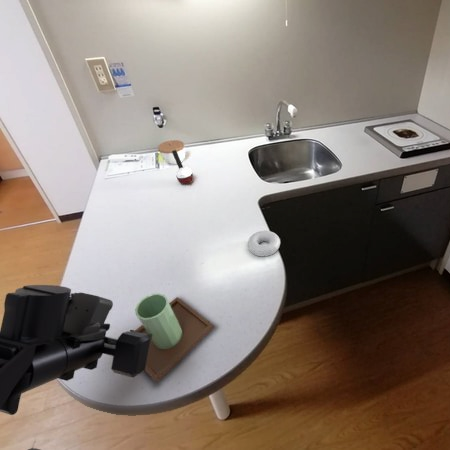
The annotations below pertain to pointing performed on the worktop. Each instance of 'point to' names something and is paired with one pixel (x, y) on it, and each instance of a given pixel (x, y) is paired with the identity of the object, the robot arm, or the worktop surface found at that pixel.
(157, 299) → the green cup
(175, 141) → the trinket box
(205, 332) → the serving tray
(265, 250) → the donut
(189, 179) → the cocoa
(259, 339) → the worktop surface
